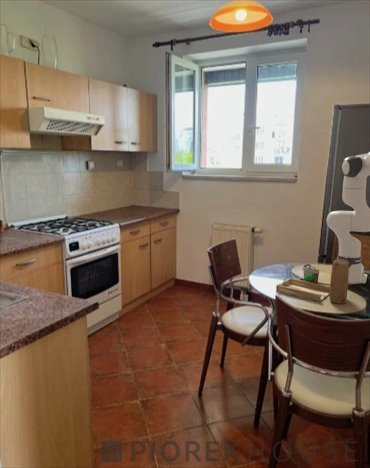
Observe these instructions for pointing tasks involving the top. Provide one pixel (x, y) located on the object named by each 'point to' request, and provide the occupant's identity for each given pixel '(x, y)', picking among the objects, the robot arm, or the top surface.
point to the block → (339, 281)
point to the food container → (310, 274)
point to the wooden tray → (304, 289)
